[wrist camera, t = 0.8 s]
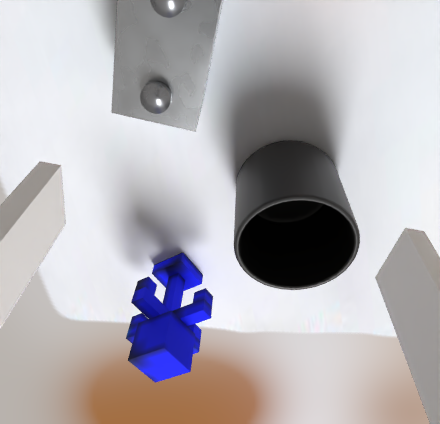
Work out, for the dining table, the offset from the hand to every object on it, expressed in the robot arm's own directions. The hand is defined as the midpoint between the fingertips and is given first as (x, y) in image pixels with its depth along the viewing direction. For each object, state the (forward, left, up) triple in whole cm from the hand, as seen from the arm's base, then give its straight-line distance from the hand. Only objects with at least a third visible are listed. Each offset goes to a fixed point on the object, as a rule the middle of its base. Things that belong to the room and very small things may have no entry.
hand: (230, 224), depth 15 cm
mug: (+10, +8, -20) cm, 23 cm away
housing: (-2, -5, -20) cm, 20 cm away
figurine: (+23, -1, -20) cm, 30 cm away
